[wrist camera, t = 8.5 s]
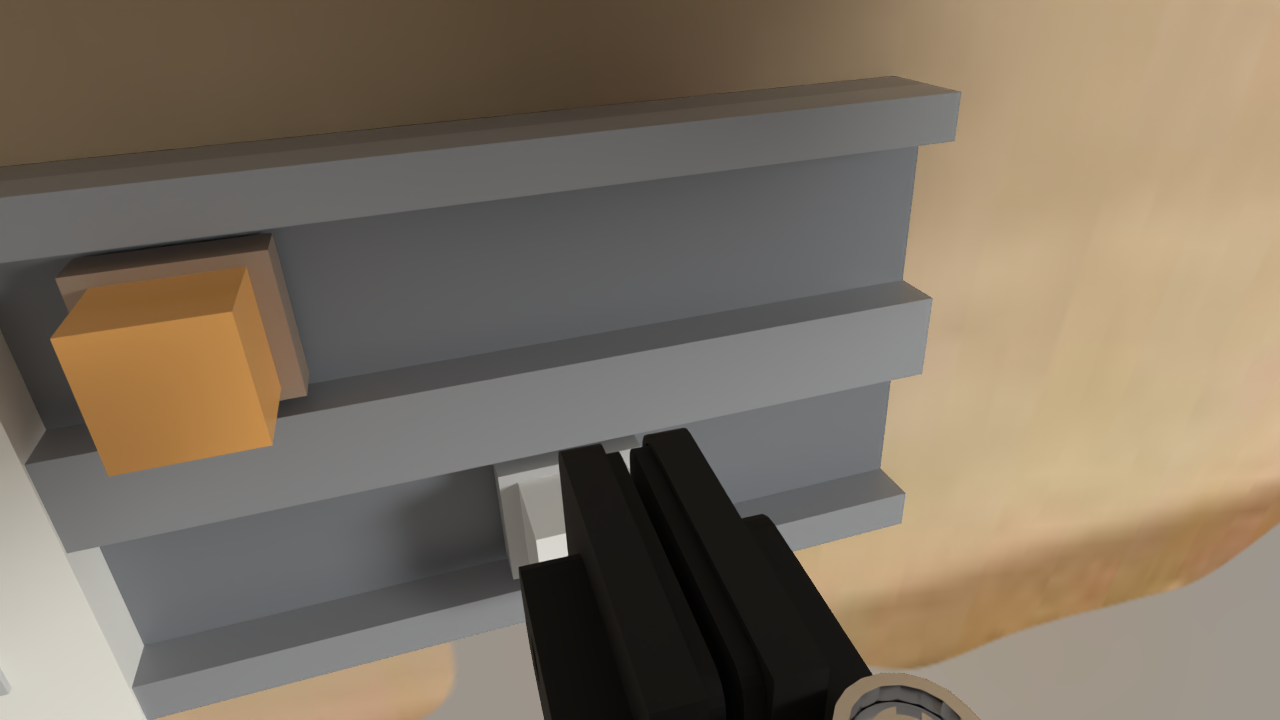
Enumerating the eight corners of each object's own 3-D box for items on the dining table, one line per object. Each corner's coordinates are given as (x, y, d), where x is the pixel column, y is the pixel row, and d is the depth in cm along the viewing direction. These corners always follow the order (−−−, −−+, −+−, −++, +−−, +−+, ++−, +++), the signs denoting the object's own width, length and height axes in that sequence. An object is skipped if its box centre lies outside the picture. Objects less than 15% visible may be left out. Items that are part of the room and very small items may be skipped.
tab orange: (272, 233, 18) (256, 292, 15) (309, 372, 20) (301, 452, 17) (72, 258, 17) (10, 328, 14) (129, 404, 19) (85, 494, 16)
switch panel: (894, 75, 23) (968, 93, 20) (854, 474, 30) (906, 528, 27) (-452, 212, 16) (-626, 270, 13) (-111, 705, 22) (-177, 815, 19)
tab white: (628, 424, 24) (671, 498, 20) (633, 522, 25) (674, 604, 22) (490, 453, 23) (514, 535, 19) (506, 553, 24) (529, 643, 21)
